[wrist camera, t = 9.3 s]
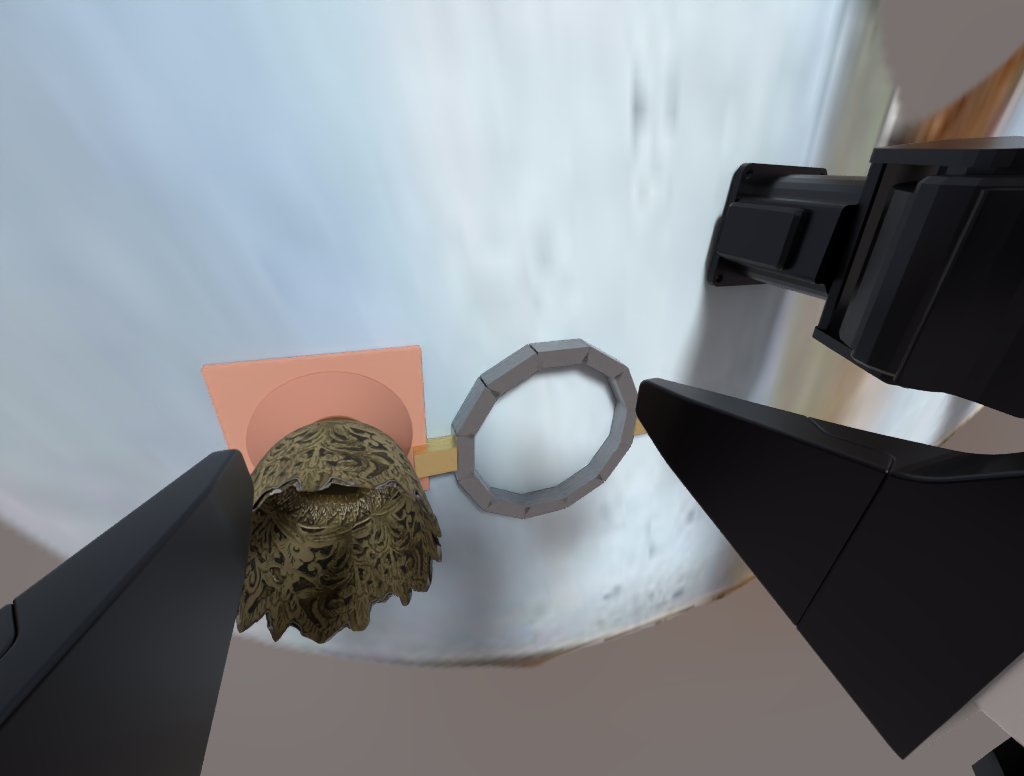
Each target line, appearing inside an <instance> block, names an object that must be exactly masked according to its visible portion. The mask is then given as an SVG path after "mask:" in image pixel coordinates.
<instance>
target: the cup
mask: <svg viewBox="0 0 1024 776" xmlns="http://www.w3.org/2000/svg"><path fill="white" fill-rule="evenodd" d="M250 476H251V478H252V481H253V485H254V500H253V511H252V523H251V534H250V545H249V555H248V564H247V569H246V574H245V579H244V584H243V588H242V592H241V597H240V601H239V606H238V610H237V614H236V623H237V629H238V631H239V633H242V632H244V631H245V630H247V629H248V628H250V627H251V626H252V625H253V624H254V623H255V622H258V621H259V620H260V619H261V618H262V617H263V616H264V615H265V614H266V620H267V628H268V629H269V631H270V633H271V635H272V638H273V640H274V641H275V642H277V641H278V640H279V639H280V638H281V636H282V635H283V633H284V632H285V631H286V629H287V628H288V627H289V626H292V627H295V628H297V629H298V630H299V631H300V633H301V635H302V636H304V637H307V638H309V639H312V640H314V641H315V642H317V643H318V644H322V643H325V642H327V641H329V640H330V639H331V638H332V637H333V636H334V635H335V634H337V633H338V632H339V631H341V630H342V629H344V628H345V627H348V628H349V629H351V630H352V631H363V630H365V629H366V627H367V626H368V624H369V622H370V611H371V608H372V607H371V606H373V605H374V603H375V604H376V603H379V602H380V603H381V602H383V603H385V602H386V601H387V600H388V599H389V597H391V596H390V595H392V594H393V595H396V596H397V597H398V596H399V597H400V600H401V603H402V605H403V606H407V605H408V604H409V602H410V600H411V595H412V589H413V590H414V589H415V590H414V591H417V592H427V591H428V589H429V587H430V584H431V581H432V560H436V561H437V562H442V554H441V545H440V543H439V541H438V538H437V536H438V537H441V531H440V528H439V525H438V522H437V519H436V516H435V515H434V513H433V511H432V509H431V507H430V504H429V502H428V500H427V497H426V495H425V493H424V490H423V488H422V486H421V484H420V481H419V479H418V477H417V475H416V473H415V470H414V468H413V467H412V465H411V463H410V461H409V459H408V458H407V456H406V455H405V453H404V452H403V450H402V449H401V448H400V447H399V445H398V444H397V443H396V442H395V441H394V440H393V439H392V438H391V437H389V436H388V435H387V434H385V433H384V432H382V431H381V430H379V429H377V428H375V427H373V426H371V425H368V424H365V423H362V422H360V421H359V420H357V419H354V418H352V417H348V416H341V415H335V416H328V417H324V418H321V419H319V420H317V421H315V422H313V423H311V424H309V425H306V426H303V427H301V428H299V429H297V430H295V431H293V432H291V433H289V434H288V435H286V436H285V437H284V438H282V439H281V440H279V441H278V442H277V443H276V444H275V445H273V446H272V447H271V448H270V449H269V451H268V452H267V453H266V454H265V455H264V456H263V457H262V459H261V460H260V461H259V463H258V464H257V466H256V467H255V469H254V470H253V472H252V473H251V475H250ZM393 595H392V596H393ZM377 601H379V602H377ZM372 604H373V605H372Z"/></svg>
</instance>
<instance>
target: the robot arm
mask: <svg viewBox="0 0 1024 776" xmlns="http://www.w3.org/2000/svg"><path fill="white" fill-rule="evenodd" d="M869 162H871V166H870V169H869V172H868V175H867V177H865V176H833V175H827V171H826V169H824V168H812V167H799V166H785V165H771V164H758V163H744V164H742V165H741V166H740V167H739V168H738V170H737V172H736V176H735V179H734V183H733V187H732V191H731V194H730V198H729V202H728V205H727V209H726V213H725V216H724V220H723V224H722V227H721V231H720V235H719V238H718V242H717V246H716V250H715V253H714V257H713V261H712V264H711V268H710V272H709V275H708V283H709V284H710V285H713V286H717V287H719V286H736V285H752V284H771V285H775V286H778V287H782V288H785V289H789V290H792V291H796V292H799V293H803V294H806V295H810V296H813V297H817V298H820V299H824V300H826V302H825V305H824V308H823V311H822V314H821V317H820V320H819V323H818V326H816V327H815V329H814V332H813V335H812V337H813V338H815V339H816V340H818V341H819V342H821V343H823V344H824V345H826V346H827V347H829V348H830V349H832V350H833V351H835V352H837V353H838V354H840V355H841V356H843V357H845V358H846V359H848V360H849V361H851V362H852V363H854V364H856V365H857V366H859V367H860V368H862V369H864V370H865V371H867V372H868V373H870V374H872V375H873V376H875V377H876V378H878V379H880V380H881V381H883V382H885V383H887V384H891V385H898V386H901V387H904V388H911V389H916V390H922V391H930V392H944V393H948V394H951V395H955V396H958V397H961V398H964V399H967V400H970V401H973V402H976V403H979V404H982V405H984V406H987V407H990V408H993V409H995V410H998V411H1001V412H1004V413H1006V414H1009V415H1012V416H1014V417H1018V418H1024V137H1021V136H1009V137H988V138H967V139H947V140H937V141H928V142H920V143H912V144H903V145H895V146H887V147H878V148H874V149H873V152H872V155H871V158H870V161H869ZM746 172H747V174H746ZM745 175H746V177H745ZM717 276H718V277H717ZM716 278H717V279H716ZM635 412H636V415H637V418H638V419H639V421H640V422H641V424H642V426H643V427H644V429H645V430H646V432H647V433H648V435H649V437H650V438H651V440H652V441H653V443H654V444H655V446H656V448H657V449H658V451H659V452H660V454H661V455H662V457H663V458H664V460H665V461H666V463H667V464H668V465H669V467H670V468H671V469H672V471H673V472H674V473H675V475H676V476H677V477H678V478H679V480H680V481H681V482H682V483H683V485H684V486H685V487H686V488H687V490H688V491H689V492H690V494H691V495H692V496H693V497H694V499H695V500H696V501H697V502H698V504H699V505H700V506H701V507H702V509H703V510H704V511H705V513H706V514H707V515H708V516H709V518H710V519H711V520H712V521H713V523H714V524H715V525H716V527H717V528H718V529H719V530H720V532H721V533H722V534H723V535H724V537H725V538H726V539H727V540H728V542H729V543H730V544H731V546H732V547H733V548H734V549H735V551H736V552H737V553H738V554H739V556H740V557H741V558H742V559H743V561H744V562H745V563H746V565H747V566H748V567H749V568H750V570H751V571H752V572H753V573H754V575H755V576H756V577H757V578H758V580H759V581H760V582H761V584H762V585H763V586H764V587H765V589H766V590H767V591H768V592H769V594H770V595H771V596H772V597H773V599H774V600H775V601H776V602H777V604H778V605H779V606H780V608H781V609H782V610H783V611H784V613H785V614H786V615H787V616H788V618H789V619H790V620H791V622H792V623H793V624H794V625H795V626H796V628H797V630H798V631H799V632H800V633H801V635H802V636H803V637H804V638H805V640H806V641H807V642H808V644H809V645H810V646H811V647H812V649H813V650H814V651H815V652H816V654H817V655H818V656H819V657H820V659H821V660H822V661H823V663H824V664H825V665H826V666H827V668H828V669H829V670H830V672H831V673H832V674H833V675H834V676H835V678H836V679H837V680H838V682H839V683H840V684H841V685H842V687H843V688H844V689H845V691H846V692H847V693H848V694H849V696H850V697H851V698H852V700H853V701H854V702H855V703H856V705H857V706H858V707H859V708H860V710H861V711H862V712H863V714H864V715H865V716H866V717H867V718H868V720H869V721H870V722H871V724H872V725H873V726H874V727H875V729H876V730H877V731H878V733H879V734H880V735H881V736H882V737H883V739H884V740H885V741H886V743H887V744H888V745H889V746H890V747H891V749H892V750H893V751H894V752H895V753H896V754H897V755H898V756H899V757H900V758H901V759H902V760H905V759H906V758H908V757H910V756H911V755H913V754H914V753H916V752H917V751H919V750H920V749H922V748H924V747H925V746H927V745H928V744H930V743H931V742H933V741H934V740H936V739H938V738H939V737H941V736H942V735H944V734H945V733H947V732H948V731H950V730H952V729H953V728H954V727H956V726H958V725H959V724H961V723H962V722H964V721H966V720H967V719H969V718H970V717H972V716H973V715H975V714H976V713H978V712H979V711H981V710H982V711H983V712H984V713H985V714H986V715H987V716H988V717H990V718H991V719H992V720H993V721H994V722H995V723H996V724H998V725H999V726H1000V727H1001V728H1002V729H1003V730H1005V731H1006V732H1007V733H1008V734H1009V735H1010V736H1011V738H1009V739H1008V740H1006V741H1005V742H1003V743H1002V744H1001V745H999V746H998V747H996V748H995V749H993V750H992V751H991V752H989V753H988V754H987V755H985V756H984V757H983V758H982V759H980V760H979V761H978V762H976V763H975V764H974V765H972V768H973V770H974V773H975V776H1024V452H1020V453H1011V454H998V455H997V454H996V455H988V454H973V453H965V452H959V451H954V450H949V449H945V448H940V447H936V446H931V445H926V444H922V443H917V442H913V441H908V440H904V439H899V438H895V437H890V436H886V435H881V434H877V433H873V432H868V431H864V430H860V429H855V428H851V427H847V426H843V425H839V424H835V423H831V422H827V421H823V420H819V419H815V418H811V417H808V418H807V417H806V416H803V415H800V414H796V413H792V412H788V411H784V410H780V409H776V408H772V407H769V406H765V405H761V404H757V403H753V402H749V401H745V400H741V399H738V398H734V397H730V396H726V395H722V394H718V393H714V392H710V391H707V390H703V389H699V388H695V387H691V386H687V385H683V384H679V383H676V382H672V381H668V380H664V379H660V378H652V379H646V380H643V381H642V382H641V384H640V386H639V391H638V396H637V401H636V407H635ZM253 500H254V485H253V481H252V478H251V476H250V473H249V471H248V468H247V465H246V463H245V460H244V458H243V455H242V453H241V452H240V451H239V450H238V449H229V450H223V451H217V452H213V453H211V454H210V455H208V456H207V457H206V458H204V459H203V460H202V461H200V462H199V463H198V464H196V465H195V466H194V467H192V468H191V469H189V470H188V471H187V472H185V473H184V474H183V475H181V476H180V477H179V478H177V479H176V480H175V481H173V482H172V483H171V484H169V485H168V486H166V487H165V488H164V489H162V490H161V491H160V492H158V493H157V494H156V495H154V496H153V497H152V498H150V499H149V500H147V501H146V502H145V503H143V504H142V505H141V506H139V507H138V508H137V509H135V510H134V511H133V512H131V513H130V514H128V515H127V516H126V517H124V518H123V519H122V520H120V521H119V522H118V523H116V524H115V525H114V526H112V527H111V528H110V529H108V530H107V531H105V532H104V533H103V534H101V535H100V536H99V537H97V538H96V539H95V540H93V541H92V542H91V543H89V544H88V545H86V546H85V547H84V548H82V549H81V550H80V551H78V552H77V553H76V554H74V555H73V556H72V557H70V558H69V559H68V560H66V561H65V562H63V563H62V564H61V565H59V566H58V567H57V568H55V569H54V570H53V571H51V572H50V573H49V574H47V575H46V576H44V577H43V578H42V579H41V580H39V581H38V582H36V583H35V584H34V585H32V586H31V587H30V588H28V589H27V590H26V591H24V592H23V593H21V594H20V595H19V596H17V597H16V598H15V599H14V600H13V604H7V605H5V606H4V607H2V608H1V609H0V776H200V774H201V769H202V765H203V761H204V756H205V751H206V747H207V743H208V738H209V734H210V730H211V725H212V720H213V716H214V712H215V707H216V703H217V698H218V694H219V689H220V685H221V681H222V676H223V672H224V667H225V663H226V659H227V654H228V649H229V645H230V641H231V637H232V632H233V628H234V623H235V619H236V614H237V610H238V606H239V601H240V597H241V592H242V588H243V584H244V579H245V574H246V569H247V564H248V555H249V545H250V534H251V523H252V511H253Z"/></svg>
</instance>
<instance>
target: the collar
mask: <svg viewBox="0 0 1024 776" xmlns="http://www.w3.org/2000/svg"><path fill="white" fill-rule="evenodd" d="M576 364H586V365H588V366H590V367H592V368H594V369H596V370H597V371H599V372H601V373H603V374H605V375H606V376H607V379H608V381H609V384H610V386H611V388H612V391H613V393H614V396H615V398H616V406H615V411H614V417H613V422H612V427H611V432H610V435H609V437H608V438H607V439H606V441H605V442H604V444H603V445H602V446H601V448H600V449H599V451H598V452H597V454H596V455H595V456H594V458H593V459H592V461H591V462H590V463H589V465H588V466H586V467H585V468H583V469H582V470H580V471H579V472H577V473H576V474H574V475H573V476H571V477H570V478H568V479H567V480H565V481H564V482H563V483H561V484H560V485H558V486H556V487H552V488H548V489H543V490H539V491H535V492H530V493H526V494H522V495H521V494H517V493H513V492H509V491H505V490H501V489H497V488H493V487H489V486H488V485H487V483H486V482H485V481H484V480H483V478H482V477H481V476H480V475H479V474H478V472H477V471H476V470H475V469H474V436H475V434H476V433H477V431H478V430H479V428H480V426H481V425H482V423H483V421H484V420H485V418H486V416H487V415H488V413H489V411H490V410H491V408H492V407H493V405H494V403H495V402H496V400H497V398H498V397H499V396H500V395H502V394H503V393H505V392H506V391H508V390H509V389H511V388H512V387H514V386H515V385H517V384H518V383H520V382H521V381H523V380H524V379H526V378H527V377H529V376H530V375H532V374H533V373H535V372H536V371H538V370H539V369H543V368H551V367H559V366H567V365H576ZM480 376H481V378H480V377H478V379H477V381H476V382H475V384H474V386H473V388H472V389H471V391H470V393H469V394H468V396H467V398H466V399H465V401H464V403H463V405H462V406H461V408H460V410H459V411H458V413H457V415H456V417H455V418H454V420H453V422H452V424H451V427H452V435H451V436H445V437H439V438H433V439H428V440H426V441H427V444H423V445H418V446H412V453H413V464H414V470H415V473H416V475H417V477H418V478H421V477H426V476H431V475H436V474H441V473H446V472H451V471H454V473H455V475H456V478H457V481H458V482H459V484H460V485H461V486H462V487H463V488H464V489H465V490H466V491H467V493H468V494H469V495H470V496H471V497H472V498H473V499H474V500H475V502H476V503H477V504H478V505H479V506H480V507H481V508H482V509H483V510H484V511H488V512H493V513H497V514H502V515H507V516H512V517H516V518H521V519H523V518H524V519H525V518H529V517H533V516H537V515H541V514H545V513H549V512H553V511H557V510H561V509H565V508H566V506H567V507H569V506H570V505H572V504H573V503H575V502H576V501H578V500H579V499H581V498H582V497H583V496H585V495H586V494H588V493H589V492H591V491H592V490H594V489H595V488H597V487H598V486H600V485H601V484H602V483H604V481H606V480H607V478H608V477H609V476H610V474H611V473H612V471H613V470H614V469H615V467H616V466H617V465H618V463H619V462H620V461H621V459H622V458H623V456H624V455H625V454H626V452H627V451H628V450H629V448H630V447H631V444H632V442H633V438H634V435H637V434H642V433H647V432H646V430H645V429H644V427H643V426H642V424H641V422H640V421H639V419H638V418H637V415H636V412H635V407H636V401H637V396H638V394H637V391H636V388H635V386H634V383H633V380H632V377H631V374H630V372H629V369H628V367H627V366H625V365H624V364H623V363H621V362H620V361H618V360H617V359H615V358H614V357H612V356H610V355H608V354H606V353H605V352H603V351H601V350H599V349H598V348H596V347H594V346H592V345H590V344H589V343H587V342H585V341H583V340H582V339H571V340H561V341H551V342H541V343H531V344H529V345H528V344H527V345H526V346H524V347H523V348H521V349H520V350H518V351H517V352H515V353H514V354H512V355H510V356H509V357H507V358H506V359H504V360H503V361H501V362H500V363H498V364H497V365H495V366H494V367H492V368H491V369H489V370H488V371H486V372H485V373H483V374H482V375H480Z"/></svg>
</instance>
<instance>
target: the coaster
mask: <svg viewBox="0 0 1024 776" xmlns="http://www.w3.org/2000/svg"><path fill="white" fill-rule="evenodd" d="M201 371H202V374H203V377H204V380H205V382H206V385H207V388H208V391H209V394H210V397H211V400H212V403H213V405H214V408H215V411H216V414H217V417H218V420H219V423H220V425H221V428H222V431H223V434H224V437H225V440H226V443H227V446H228V448H229V449H238V450H239V451H240V452H241V453H242V455H243V458H244V460H245V463H246V465H247V468H248V471H249V473H250V475H251V473H252V472H253V470H254V469H255V467H256V466H257V464H258V463H259V461H260V460H261V459H262V457H263V456H264V455H265V454H266V453H267V452H268V451H269V449H270V448H271V447H272V446H273V445H275V444H276V443H277V442H278V441H279V440H281V439H282V438H284V437H285V436H286V435H288V434H289V433H291V432H293V431H295V430H297V429H299V428H301V427H303V426H306V425H309V424H311V423H313V422H315V421H317V420H319V419H321V418H324V417H328V416H335V415H341V416H348V417H352V418H354V419H357V420H359V421H360V422H362V423H365V424H368V425H371V426H373V427H375V428H377V429H379V430H381V431H382V432H384V433H385V434H387V435H388V436H389V437H391V438H392V439H393V440H394V441H395V442H396V443H397V444H398V445H399V447H400V448H401V449H402V450H403V452H404V453H405V455H406V456H407V458H408V459H409V461H410V463H411V465H412V467H413V468H414V464H413V453H412V446H418V445H423V444H427V441H426V425H425V410H424V394H423V379H422V363H421V348H420V346H419V345H418V346H407V347H396V348H385V349H374V350H364V351H353V352H342V353H331V354H320V355H310V356H299V357H288V358H277V359H266V360H256V361H245V362H234V363H223V364H212V365H203V367H202V368H201ZM418 479H419V481H420V484H421V486H422V488H423V490H424V491H425V490H429V489H430V488H429V476H426V477H421V478H418Z"/></svg>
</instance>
